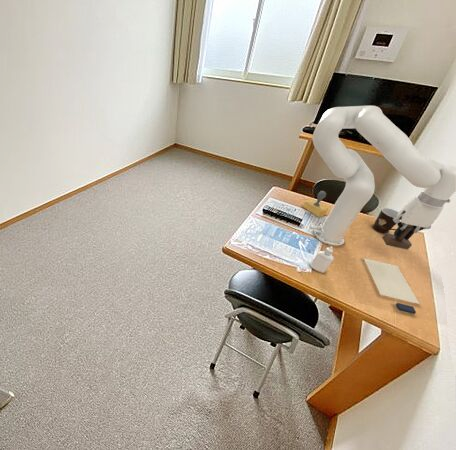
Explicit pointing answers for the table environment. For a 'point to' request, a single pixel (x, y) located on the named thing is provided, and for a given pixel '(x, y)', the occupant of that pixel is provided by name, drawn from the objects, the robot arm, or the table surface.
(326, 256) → the eye dropper bottle
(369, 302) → the table surface
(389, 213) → the coffee mug
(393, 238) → the handled square plate
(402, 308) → the eraser
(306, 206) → the rubber stamp
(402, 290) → the tile
